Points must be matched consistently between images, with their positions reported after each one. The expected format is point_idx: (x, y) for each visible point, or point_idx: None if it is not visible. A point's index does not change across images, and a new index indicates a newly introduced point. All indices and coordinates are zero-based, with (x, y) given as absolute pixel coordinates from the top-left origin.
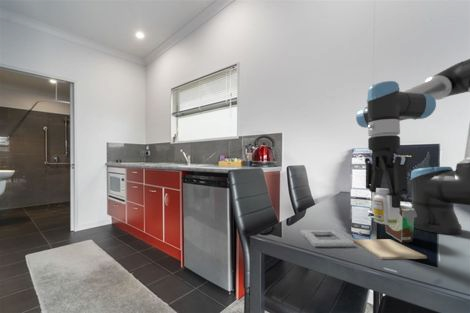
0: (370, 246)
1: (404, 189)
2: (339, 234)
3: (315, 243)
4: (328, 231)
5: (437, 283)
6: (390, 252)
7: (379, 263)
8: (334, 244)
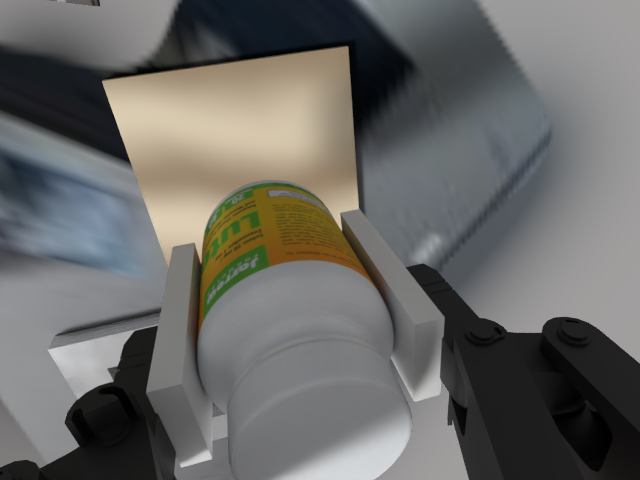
0: None
1: (597, 369)
2: None
3: None
4: (102, 375)
5: (508, 162)
6: (318, 193)
7: None
8: None
